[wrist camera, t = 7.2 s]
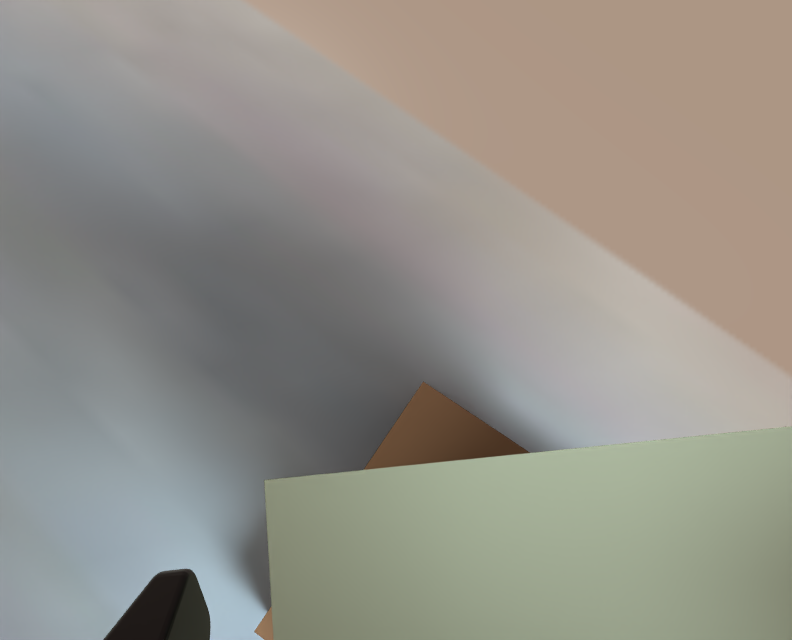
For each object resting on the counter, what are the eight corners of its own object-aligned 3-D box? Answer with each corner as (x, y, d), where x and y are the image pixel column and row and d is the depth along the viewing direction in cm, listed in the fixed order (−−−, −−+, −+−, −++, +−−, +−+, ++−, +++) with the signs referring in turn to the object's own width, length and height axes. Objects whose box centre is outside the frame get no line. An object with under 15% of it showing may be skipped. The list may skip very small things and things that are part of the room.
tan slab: (643, 542, 20) (675, 549, 17) (500, 785, 18) (512, 829, 16) (423, 395, 21) (423, 381, 18) (275, 614, 19) (254, 631, 17)
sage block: (590, 691, 16) (947, 1071, 6) (367, 715, 16) (302, 1146, 6) (557, 463, 18) (803, 424, 7) (347, 485, 17) (263, 480, 7)
